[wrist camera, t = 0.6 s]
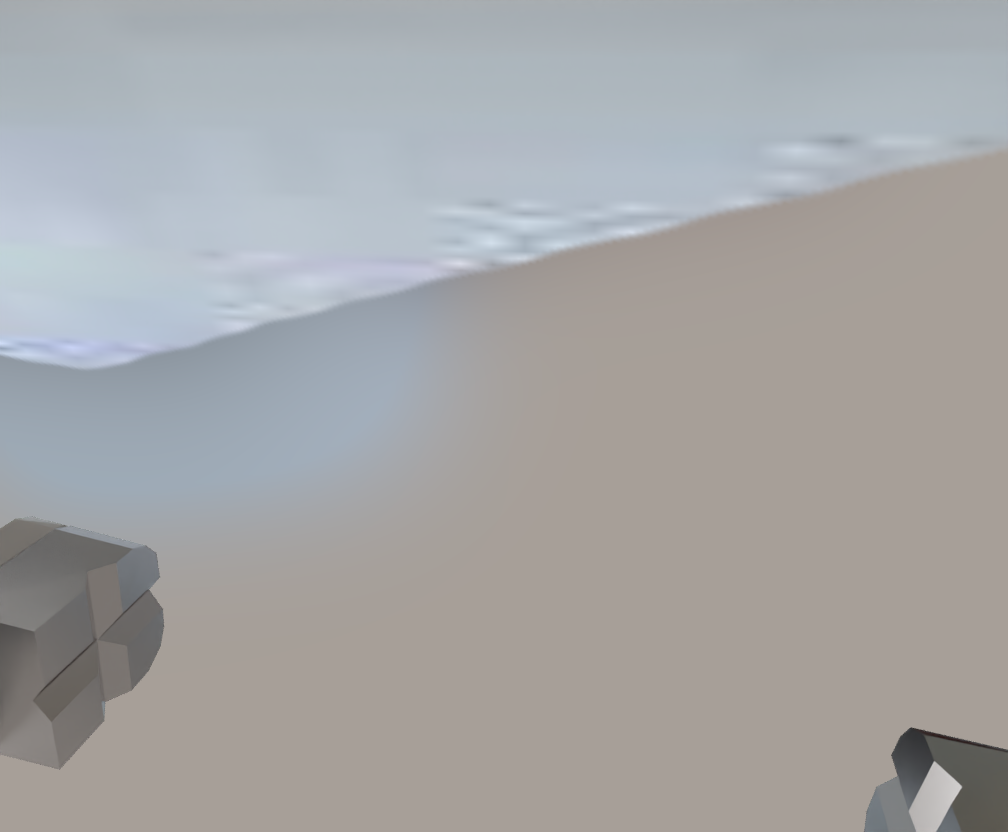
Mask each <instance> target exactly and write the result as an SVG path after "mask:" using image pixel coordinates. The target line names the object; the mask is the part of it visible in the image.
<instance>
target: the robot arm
mask: <svg viewBox="0 0 1008 832" xmlns="http://www.w3.org/2000/svg"><path fill="white" fill-rule="evenodd" d="M159 577H160V576H159V568H158V561H157V554H156V552H154V551H153V550H151V549H150V548H148V547H147V546H145V545H141V544H137V543H134V542H130V541H126V540H122V539H118V538H115V537H111V536H107V535H103V534H99V533H96V532H92V531H88V530H84V529H81V528H77V527H73V526H65V525H62V524H59V523H55V522H51V521H47V520H43V519H39V518H36V517H26V518H19V519H14V520H13V521H11V522H10V523H8V524H7V525H5V526H4V527H2V528H1V529H0V754H1V755H5V756H9V757H13V758H17V759H20V760H25V761H29V762H33V763H36V764H40V765H44V766H48V767H52V768H56V769H61V767H62V766H63V765H64V764H65V763H66V762H67V761H68V760H69V759H70V757H72V755H73V754H74V753H75V752H76V751H77V750H78V749H79V748H80V747H81V745H83V743H84V742H85V741H86V740H87V739H88V738H89V737H90V736H91V735H92V733H93V732H94V731H95V730H96V729H97V728H98V727H99V726H100V725H101V724H102V723H103V722H104V715H105V702H106V701H109V700H111V699H113V698H115V697H118V696H120V695H122V694H125V693H127V692H129V691H131V690H132V689H133V688H134V687H135V686H136V685H137V684H138V682H139V681H140V680H141V679H142V678H143V677H144V676H145V674H146V673H147V672H148V671H149V669H150V667H151V665H152V663H153V661H154V658H155V657H156V654H157V652H158V650H159V648H160V646H161V641H162V634H163V629H164V619H163V609H162V607H161V606H160V604H159V603H158V602H157V600H156V599H155V597H154V596H153V595H152V593H151V592H150V590H149V589H150V588H151V587H152V586H153V585H154V583H155V582H156V581H157V580H158V579H159ZM891 756H892V759H893V762H894V765H895V769H896V772H897V775H898V776H897V777H895V778H893V779H891V780H890V781H887V782H885V783H884V784H881V785H880V786H878V787H876V790H875V792H874V795H873V797H872V799H871V802H870V804H869V807H868V809H867V813H866V821H865V829H864V832H1008V750H1006V749H1003V748H998V747H994V746H989V745H985V744H981V743H977V742H972V741H968V740H964V739H959V738H955V737H951V736H946V735H942V734H937V733H933V732H929V731H925V730H920V729H916V728H909V729H908V730H907V731H906V732H905V733H904V734H903V735H902V736H901V737H900V738H899V740H898V743H897V744H896V746H895V749H894V751H893V753H892V755H891Z"/></svg>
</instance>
